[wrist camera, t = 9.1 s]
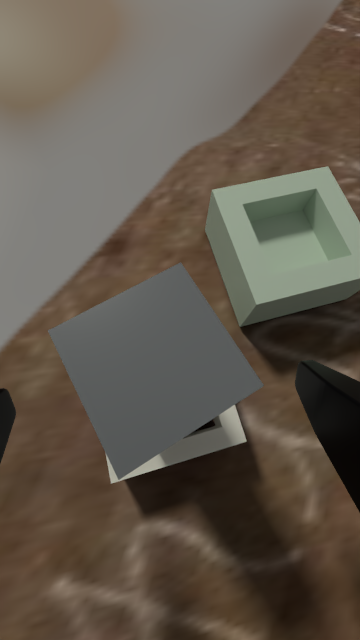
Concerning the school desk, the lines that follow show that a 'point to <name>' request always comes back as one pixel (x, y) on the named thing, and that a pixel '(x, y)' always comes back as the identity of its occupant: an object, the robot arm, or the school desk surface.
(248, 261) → the raised socket
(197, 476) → the school desk surface
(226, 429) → the low collar
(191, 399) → the plug
